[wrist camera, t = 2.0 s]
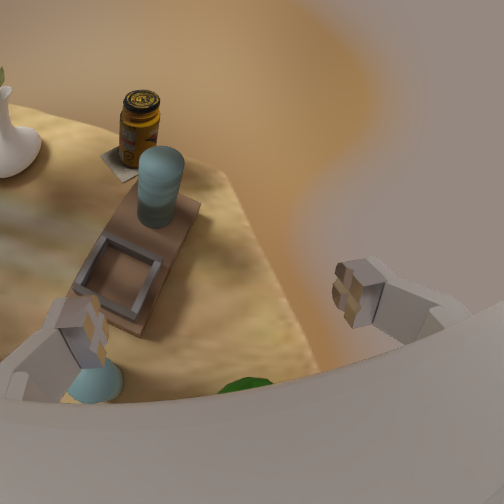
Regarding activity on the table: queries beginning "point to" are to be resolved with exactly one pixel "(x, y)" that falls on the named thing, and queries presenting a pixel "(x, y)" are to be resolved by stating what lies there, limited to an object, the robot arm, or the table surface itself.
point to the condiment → (134, 133)
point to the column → (97, 384)
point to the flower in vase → (14, 139)
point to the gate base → (139, 243)
